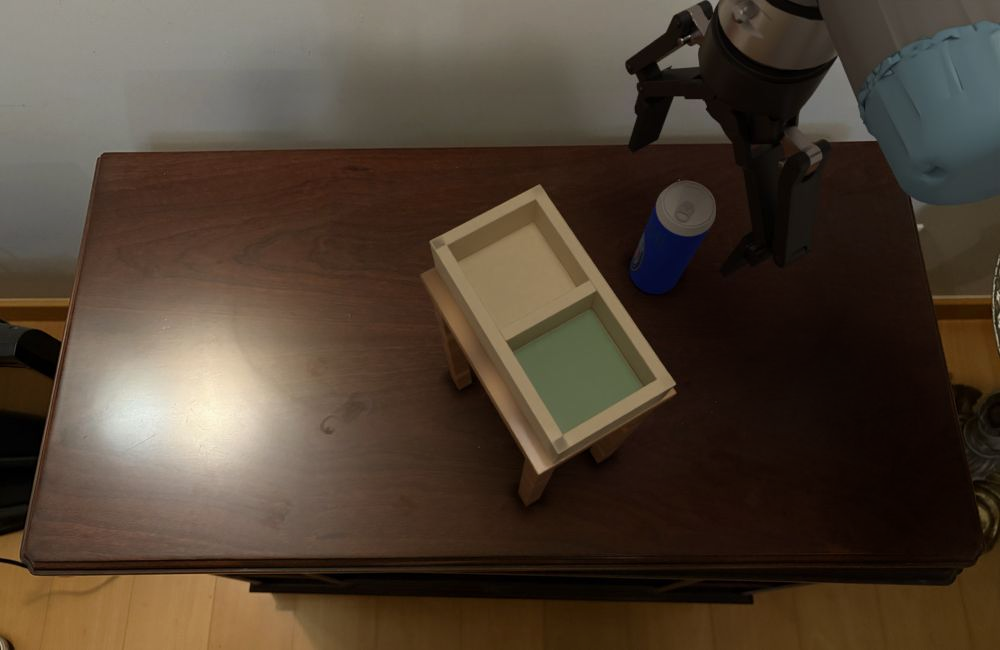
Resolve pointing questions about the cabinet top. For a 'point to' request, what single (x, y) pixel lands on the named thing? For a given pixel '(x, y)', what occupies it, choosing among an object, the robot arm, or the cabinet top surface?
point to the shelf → (467, 350)
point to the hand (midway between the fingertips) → (687, 203)
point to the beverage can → (672, 236)
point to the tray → (549, 322)
